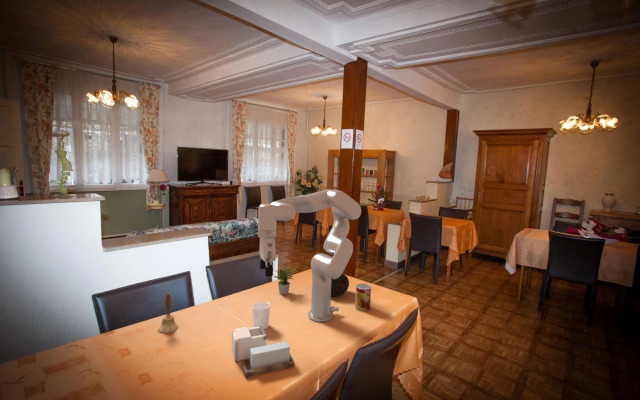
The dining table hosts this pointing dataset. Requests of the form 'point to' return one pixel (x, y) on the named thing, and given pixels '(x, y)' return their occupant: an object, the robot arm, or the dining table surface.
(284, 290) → the house plant
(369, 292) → the canned food
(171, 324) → the hand bell
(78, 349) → the dining table surface
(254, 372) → the tray
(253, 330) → the dispenser
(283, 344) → the white rectangular block
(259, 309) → the white cup
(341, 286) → the black round vase
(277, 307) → the dining table surface
